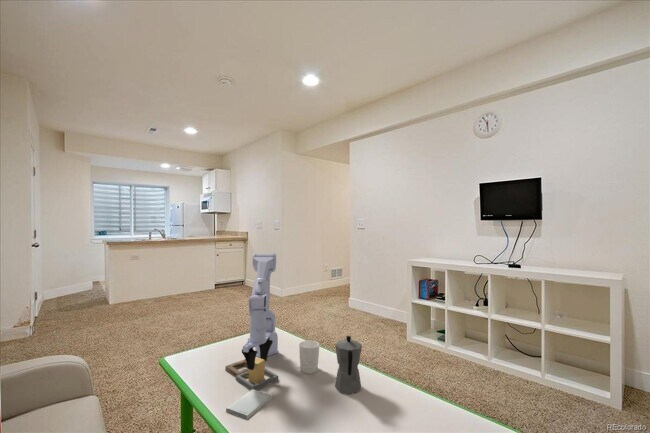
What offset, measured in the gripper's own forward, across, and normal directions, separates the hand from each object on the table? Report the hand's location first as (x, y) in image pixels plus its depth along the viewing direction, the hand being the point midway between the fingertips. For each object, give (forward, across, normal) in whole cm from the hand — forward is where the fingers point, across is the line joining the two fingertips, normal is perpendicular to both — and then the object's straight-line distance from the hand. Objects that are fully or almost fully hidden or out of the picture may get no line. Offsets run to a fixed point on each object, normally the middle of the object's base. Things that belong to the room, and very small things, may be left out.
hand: (257, 364), depth 114 cm
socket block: (+6, -3, -10) cm, 12 cm away
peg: (+6, 0, 0) cm, 6 cm away
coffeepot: (+6, -9, +32) cm, 34 cm away
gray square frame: (+6, 0, 0) cm, 6 cm away
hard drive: (+6, +14, +7) cm, 17 cm away
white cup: (+6, -15, +13) cm, 21 cm away
